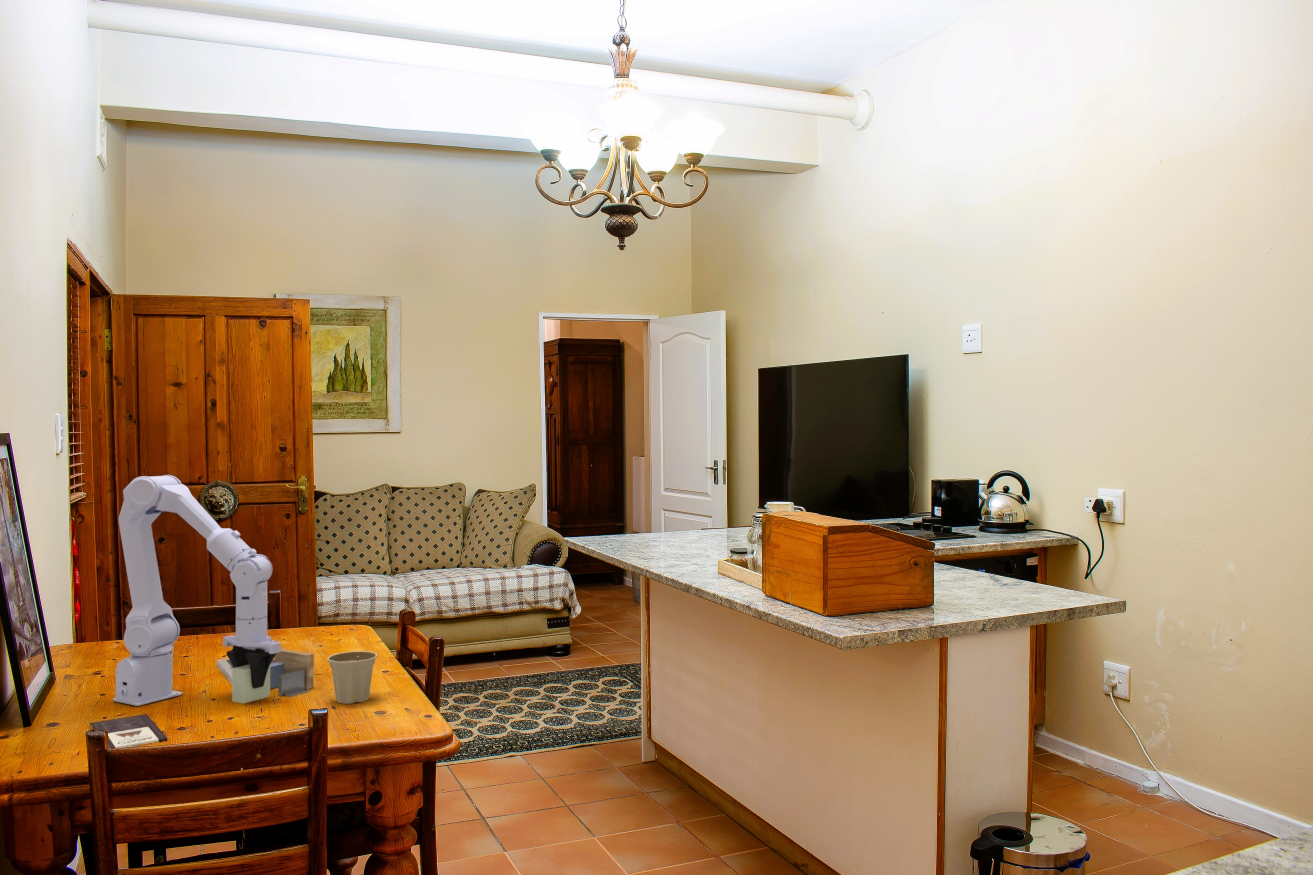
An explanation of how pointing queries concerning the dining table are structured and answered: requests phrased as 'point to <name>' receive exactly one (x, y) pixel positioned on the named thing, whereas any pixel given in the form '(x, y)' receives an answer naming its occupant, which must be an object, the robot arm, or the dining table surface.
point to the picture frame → (226, 668)
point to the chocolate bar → (130, 731)
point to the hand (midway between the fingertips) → (251, 685)
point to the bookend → (292, 683)
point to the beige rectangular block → (247, 686)
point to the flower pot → (352, 675)
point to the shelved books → (275, 672)
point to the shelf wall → (297, 663)
